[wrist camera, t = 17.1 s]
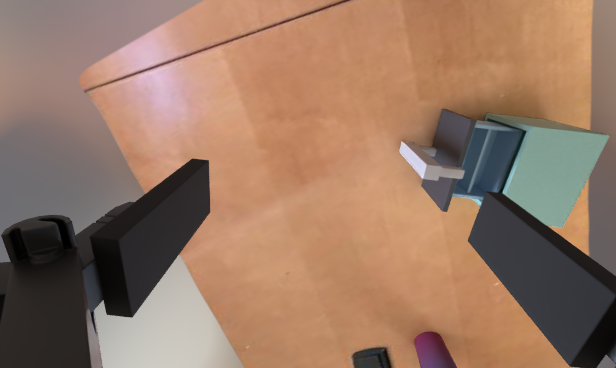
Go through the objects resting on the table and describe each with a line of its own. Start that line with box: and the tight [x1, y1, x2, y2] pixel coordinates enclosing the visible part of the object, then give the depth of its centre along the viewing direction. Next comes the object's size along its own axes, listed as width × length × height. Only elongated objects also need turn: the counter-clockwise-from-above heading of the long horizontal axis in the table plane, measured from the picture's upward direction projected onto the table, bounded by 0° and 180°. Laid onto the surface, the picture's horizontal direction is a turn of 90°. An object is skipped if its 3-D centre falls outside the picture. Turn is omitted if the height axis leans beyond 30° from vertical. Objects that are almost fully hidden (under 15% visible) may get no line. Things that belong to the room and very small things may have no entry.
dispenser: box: [473, 113, 609, 228], centre depth 36 cm, size 8×11×9 cm
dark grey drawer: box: [399, 109, 523, 212], centre depth 35 cm, size 12×11×10 cm
